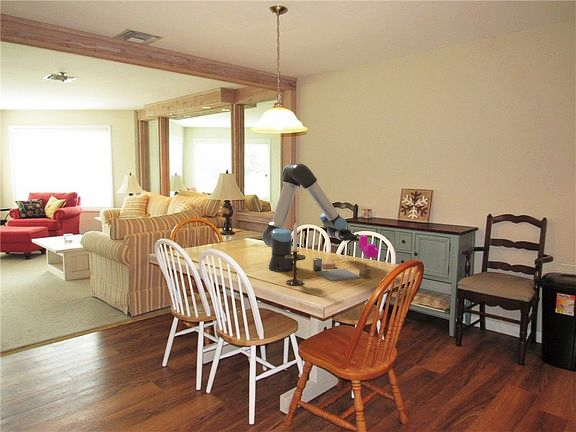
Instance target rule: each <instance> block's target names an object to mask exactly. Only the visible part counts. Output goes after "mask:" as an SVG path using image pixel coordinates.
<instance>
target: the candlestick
mask: <svg viewBox="0 0 576 432" xmlns="http://www.w3.org/2000/svg"><path fill="white" fill-rule="evenodd" d="M292 236H293V237H292V240H293V246H292V248H293V249H292V250H291V254H289V255H285V259H287V260H292V261H293V263H294V268H293V269H292V270H291V271H293V273H292V275H293V277H292V279H288V280H286V281H285V284H286V285H288V286H293V287H299V286H302V285H304V281H303V279H302V280H301V279H298V278H297V275H298V273H297V271H298V268H297V262H298V261H304V260H306V255H304V254H298V253H299V250H298V225H297V219H296V217H294V225H293V235H292Z"/></svg>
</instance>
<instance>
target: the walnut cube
mask: <svg viewBox="0 0 576 432" xmlns="http://www.w3.org/2000/svg"><path fill="white" fill-rule="evenodd" d="M358 273H359V274H358V275H359V276H361V278H360V279H363V280H364V279H372V277H373V276H372V275H373V271H372V268H370V267H368V266H367V267H365V266H364V267H359V270H358Z"/></svg>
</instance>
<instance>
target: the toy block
mask: <svg viewBox="0 0 576 432" xmlns="http://www.w3.org/2000/svg"><path fill="white" fill-rule="evenodd" d="M359 235H360V234H359ZM358 248H359V250H360V251H361V252H362V253H363V255H364V256H365V257H366V259H367V258H368V259H373V258H378V255H379V249H378V248H377V247H375V244H374V243H369V242H368V235H365V234H364V235H360V241H359V242H358Z"/></svg>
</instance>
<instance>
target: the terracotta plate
mask: <svg viewBox="0 0 576 432" xmlns="http://www.w3.org/2000/svg"><path fill="white" fill-rule="evenodd" d="M322 269H336V263H335V262H334V261H322Z"/></svg>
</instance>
